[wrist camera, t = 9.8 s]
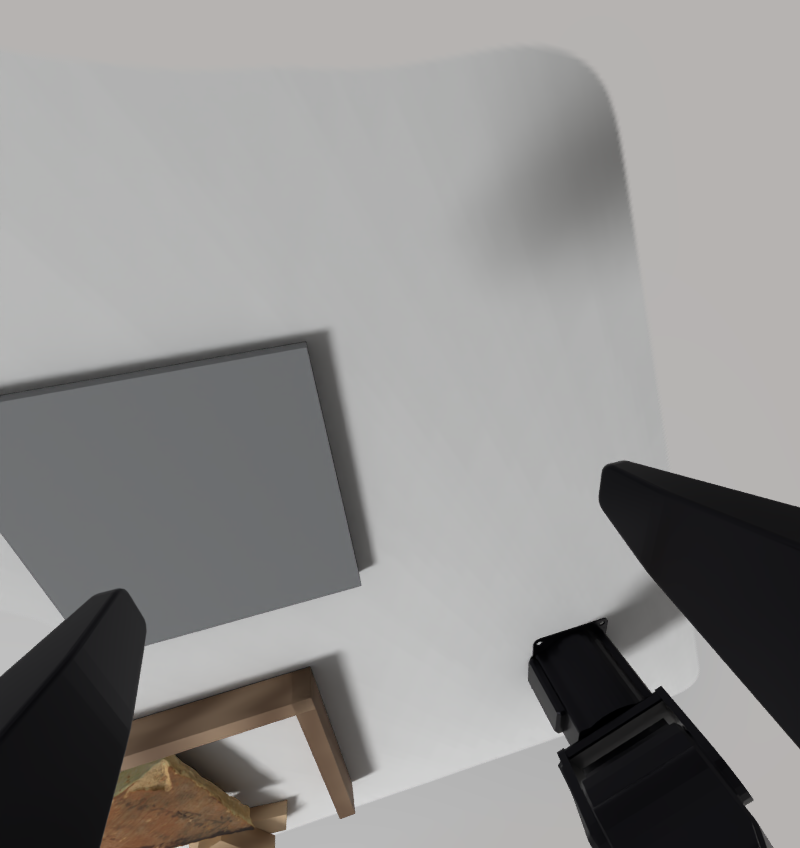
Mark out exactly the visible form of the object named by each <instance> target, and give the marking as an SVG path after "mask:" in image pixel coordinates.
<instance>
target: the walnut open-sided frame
mask: <svg viewBox="0 0 800 848" xmlns="http://www.w3.org/2000/svg"><path fill="white" fill-rule="evenodd" d="M295 715H296V716H297V718H298V721H299V723H300V725H301V728H302V730H303V732H304V735H305V737H306V740H307V742H308V744H309V747H310V749H311V751H312V754H313V756H314V759H315V761H316V763H317V766H318V768H319V770H320V773H321V775H322V777H323V780H324V782H325V785H326V787H327V789H328V792H329V794H330V796H331V799H332V801H333V804H334V806H335V808H336V811H337V813H338V815H339V818H340V819H342V818H345V817H347V816H350V815H353V814H355V807H354V798H353V788H352V782H351V779H350V776H349V773H348V771H347V768H346V765H345V762H344V759H343V757H342V754H341V751H340V748H339V746H338V743H337V740H336V737H335V734H334V732H333V729H332V726H331V723H330V720H329V718H328V715H327V712H326V709H325V707H324V704H323V701H322V698H321V695H320V693H319V690H318V687H317V684H316V681H315V679H314V676H313V673H312V670H311V668H310V667H307V668H304V669H301V670H297V671H294V672H291V673H288V674H284V675H281V676H278V677H274V678H271V679H268V680H265V681H261V682H258V683H255V684H251V685H248V686H245V687H242V688H238V689H235V690H232V691H228V692H225V693H222V694H219V695H215V696H212V697H209V698H205V699H202V700H199V701H196V702H192V703H189V704H186V705H182V706H179V707H176V708H172V709H169V710H166V711H163V712H159V713H156V714H153V715H149V716H146V717H143V718H140V719H136V720H133V721H132V726H131V731H130V735H129V739H128V743H127V747H126V751H125V755H124V759H123V763H122V767H121V770H120V772H121V771H124V770H127V769H130V768H133V767H136V766H140V765H143V764H146V763H149V762H152V761H155V760H158V759H161V758H164V757H168V756H171V755H174V754H177V753H180V752H183V751H186V750H189V749H192V748H196V747H199V746H202V745H205V744H208V743H211V742H214V741H217V740H220V739H224V738H227V737H230V736H233V735H236V734H239V733H242V732H245V731H248V730H252V729H255V728H258V727H261V726H264V725H267V724H270V723H273V722H276V721H280V720H283V719H286V718H289V717H292V716H295Z"/></svg>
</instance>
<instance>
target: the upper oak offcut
mask: <svg viewBox="0 0 800 848" xmlns="http://www.w3.org/2000/svg"><path fill="white" fill-rule="evenodd" d="M198 848H275V835H273V834H270V833H268V832H266V831H263V830H261V829H259V828H256V827H255V828H254V830H247V831H242V832H238V833H233V834H226V835H222V836H217V837H215V838H212V839H207V840H203V841H200V842H199V844H198Z"/></svg>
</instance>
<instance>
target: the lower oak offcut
mask: <svg viewBox="0 0 800 848" xmlns="http://www.w3.org/2000/svg"><path fill="white" fill-rule="evenodd" d="M250 818H251V820H252V823H253V825H254V827H256V828H259V829H261V830H263V831H266V832H268V833H274V832H279V831H283V830H286V820H287V800H285V801H280V802H275V803H271V804H266V805H261V806H256V807H252V808H250ZM198 844H199V842H196V843H191V844H189V848H198Z"/></svg>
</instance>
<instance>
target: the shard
mask: <svg viewBox="0 0 800 848" xmlns="http://www.w3.org/2000/svg"><path fill="white" fill-rule="evenodd" d="M254 828H255V827H254V825H253V823H252V820H251V818H250V808H249V807H248V806H247V805H243V804H242V803H241V802H240V801H239V800H238V799H236V798H235V797H232V796H229V795H228V794H226V793H225V792H224V791H222V790H221V789H220V788H219V787H217V786H216V785H214V784H213V783H212V782H210V781H208V780H206V779H205V778H202V777H201V776H200V775H199V774H198V773H197V772H196V770H194V769H193V768H191V767H190V766H188V765H186V764H185V763H183V762H182V761H181V760H180V759H179V758H177V756H176V755H175V754H174V755H171V756H168V757H164V758H161V759H158V760H155V761H152V762H149V763H146V764H143V765H140V766H136V767H133V768H130V769H127V770H125V771H123V772H121V773H120V774H119V778H118V782H117V785H116V789H115V793H114V797H113V801H112V804H111V808H110V812H109V816H108V819H107V823H106V827H105V831H104V835H103V838H102V842H101V846H100V848H175V847H178V846H184V845H187V844H191V843H196V842H200V841H203V840H207V839H212V838H215V837H217V836H222V835H226V834H233V833H238V832H242V831H247V830H254Z"/></svg>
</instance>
